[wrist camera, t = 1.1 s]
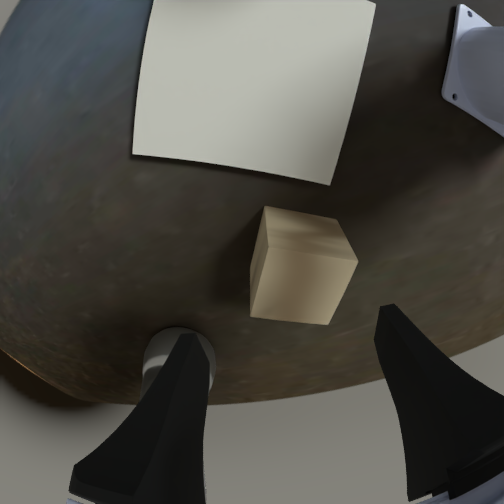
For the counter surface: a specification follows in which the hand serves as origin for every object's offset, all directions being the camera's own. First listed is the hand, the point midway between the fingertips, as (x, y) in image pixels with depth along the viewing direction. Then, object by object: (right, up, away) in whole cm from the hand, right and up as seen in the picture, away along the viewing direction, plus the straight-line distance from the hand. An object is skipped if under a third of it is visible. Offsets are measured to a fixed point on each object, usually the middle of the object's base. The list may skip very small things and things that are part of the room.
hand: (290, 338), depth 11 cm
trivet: (-2, +14, +3) cm, 14 cm away
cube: (+1, +4, +9) cm, 10 cm away
